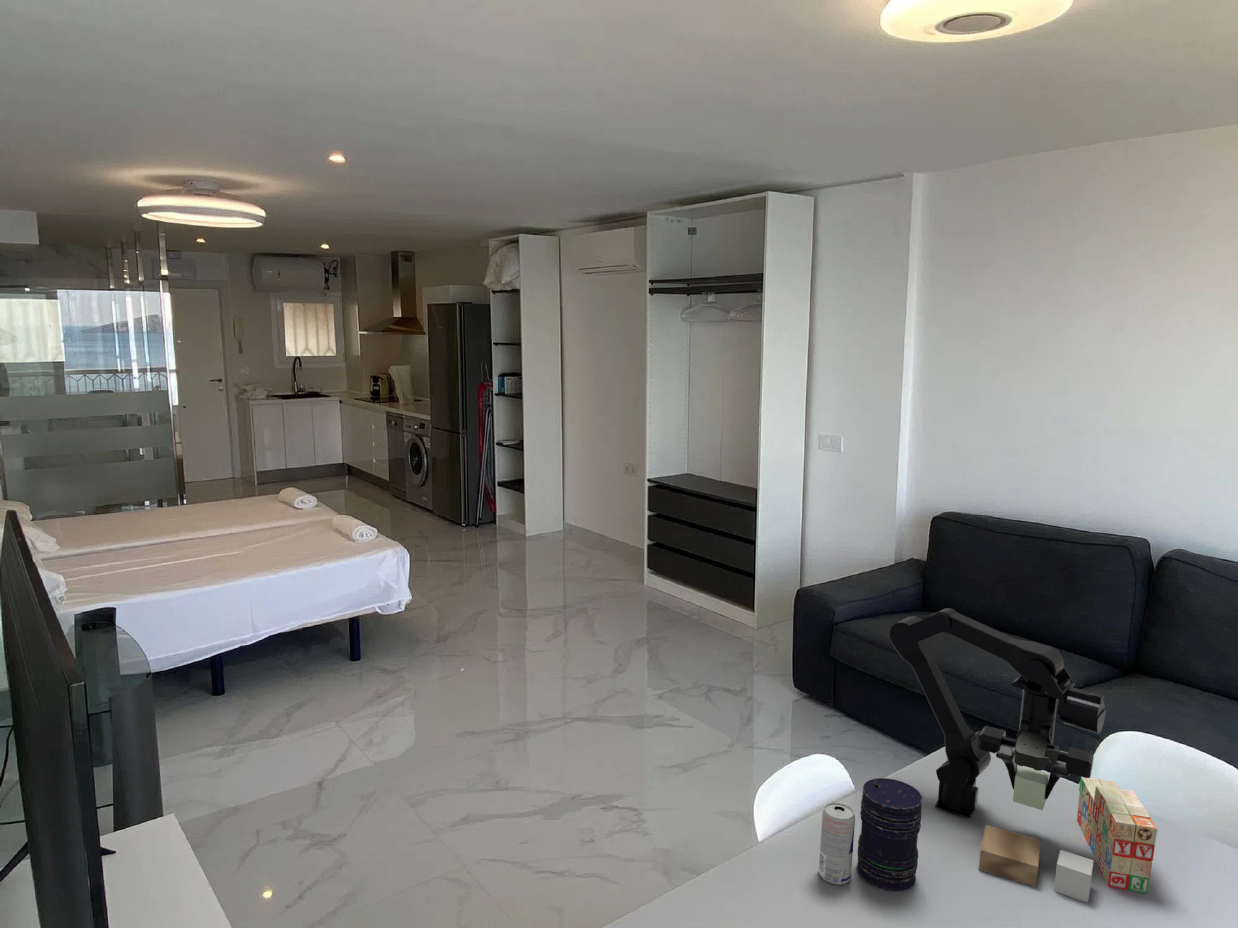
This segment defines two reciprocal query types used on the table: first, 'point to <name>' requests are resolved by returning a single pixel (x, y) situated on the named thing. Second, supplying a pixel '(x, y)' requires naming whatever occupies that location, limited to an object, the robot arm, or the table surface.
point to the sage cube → (1030, 787)
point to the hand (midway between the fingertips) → (1030, 793)
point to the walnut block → (1010, 855)
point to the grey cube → (1073, 875)
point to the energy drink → (836, 843)
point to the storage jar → (889, 834)
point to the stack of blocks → (1117, 833)
